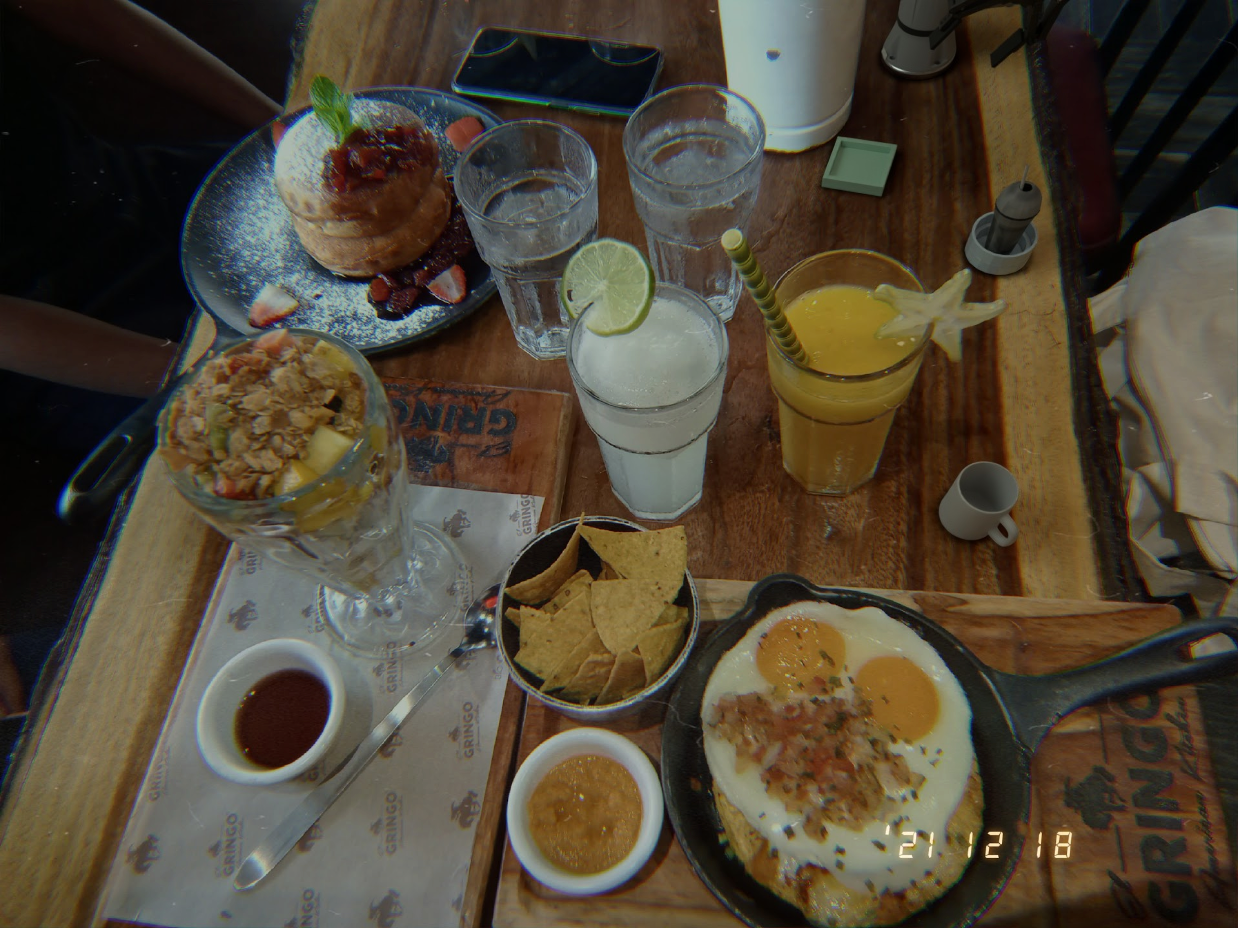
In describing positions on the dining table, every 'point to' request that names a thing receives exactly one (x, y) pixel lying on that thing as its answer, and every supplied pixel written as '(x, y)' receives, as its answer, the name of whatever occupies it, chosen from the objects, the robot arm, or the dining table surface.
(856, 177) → the tray
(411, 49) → the dining table surface
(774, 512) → the dining table surface
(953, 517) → the mug
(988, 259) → the bowl
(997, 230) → the beverage cup
